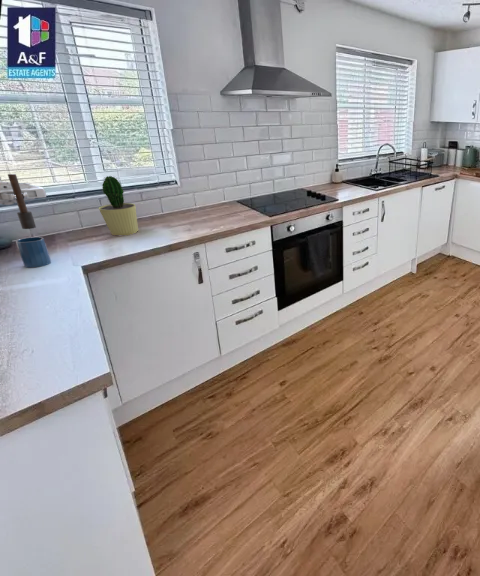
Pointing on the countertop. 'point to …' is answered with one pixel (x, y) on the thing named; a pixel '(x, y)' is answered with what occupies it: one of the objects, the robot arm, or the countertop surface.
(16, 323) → the countertop surface
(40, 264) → the blue ribbed tumbler
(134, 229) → the potted cactus
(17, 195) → the brush
